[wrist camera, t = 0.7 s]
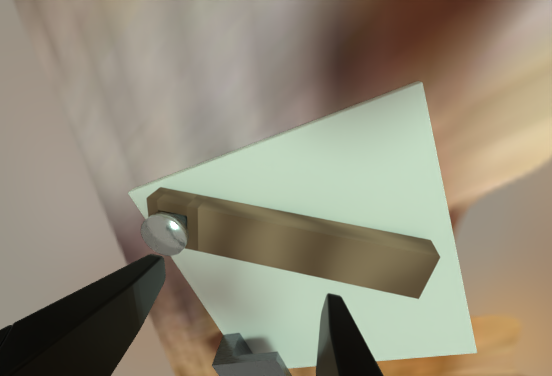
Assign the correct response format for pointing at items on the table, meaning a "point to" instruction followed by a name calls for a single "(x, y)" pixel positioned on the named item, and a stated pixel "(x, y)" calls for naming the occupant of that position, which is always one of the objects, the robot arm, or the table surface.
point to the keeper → (246, 359)
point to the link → (302, 243)
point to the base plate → (336, 207)
